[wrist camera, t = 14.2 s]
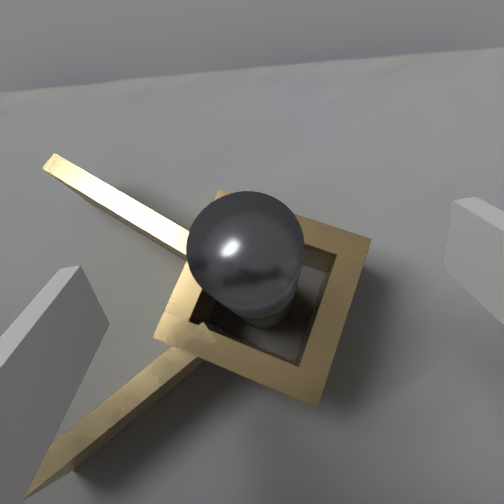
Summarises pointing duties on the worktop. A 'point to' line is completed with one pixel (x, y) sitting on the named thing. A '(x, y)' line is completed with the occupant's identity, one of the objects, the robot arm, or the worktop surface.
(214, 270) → the hinge pin
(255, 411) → the worktop surface
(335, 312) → the tan piece
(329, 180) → the worktop surface
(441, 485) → the worktop surface
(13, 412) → the robot arm
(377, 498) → the worktop surface
